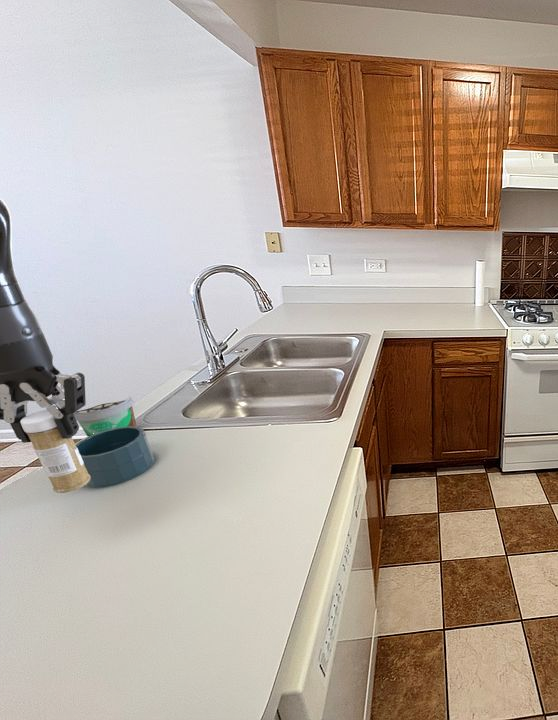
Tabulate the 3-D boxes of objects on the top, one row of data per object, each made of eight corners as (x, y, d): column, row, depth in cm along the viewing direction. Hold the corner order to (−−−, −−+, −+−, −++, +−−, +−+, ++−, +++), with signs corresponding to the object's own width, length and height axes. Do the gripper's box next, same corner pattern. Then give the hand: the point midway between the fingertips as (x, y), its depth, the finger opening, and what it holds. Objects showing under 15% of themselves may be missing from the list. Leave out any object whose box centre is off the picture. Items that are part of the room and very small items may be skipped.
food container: (81, 454, 98) (65, 419, 94) (83, 443, 103) (68, 409, 99) (144, 436, 105) (132, 403, 102) (144, 427, 110) (132, 395, 106)
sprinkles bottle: (97, 474, 69) (68, 406, 64) (80, 492, 65) (47, 420, 60) (65, 478, 68) (34, 409, 63) (46, 496, 64) (10, 423, 59)
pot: (68, 492, 85) (53, 461, 82) (105, 457, 97) (93, 429, 94) (136, 483, 88) (124, 453, 85) (164, 451, 99) (154, 423, 96)
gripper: (81, 325, 61) (118, 421, 68) (-34, 330, 58) (16, 430, 65) (43, 340, 54) (88, 445, 61) (-89, 347, 51) (-28, 457, 58)
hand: (50, 437), depth 63 cm, fingers closed on sprinkles bottle, 4 cm apart
